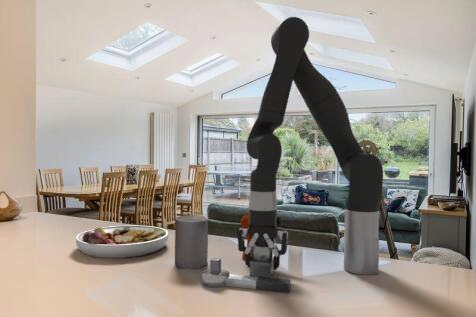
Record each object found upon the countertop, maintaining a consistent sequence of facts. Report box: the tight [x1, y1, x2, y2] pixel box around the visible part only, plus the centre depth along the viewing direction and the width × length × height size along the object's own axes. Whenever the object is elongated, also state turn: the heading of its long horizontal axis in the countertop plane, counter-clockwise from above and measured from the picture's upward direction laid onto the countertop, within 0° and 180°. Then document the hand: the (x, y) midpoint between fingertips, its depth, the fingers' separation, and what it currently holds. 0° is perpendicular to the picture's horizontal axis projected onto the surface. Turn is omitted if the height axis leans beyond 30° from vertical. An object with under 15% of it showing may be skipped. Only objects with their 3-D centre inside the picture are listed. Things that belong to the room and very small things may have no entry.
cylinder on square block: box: [249, 244, 275, 277], centre depth 107 cm, size 6×6×8 cm
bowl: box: [75, 224, 169, 259], centre depth 133 cm, size 30×30×8 cm
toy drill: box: [240, 212, 297, 261], centre depth 118 cm, size 5×19×15 cm, turn 61°
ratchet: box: [201, 257, 292, 294], centre depth 98 cm, size 22×7×6 cm, turn 74°
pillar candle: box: [174, 213, 209, 270], centre depth 115 cm, size 10×10×15 cm
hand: (262, 267), depth 107 cm, fingers open, 6 cm apart
